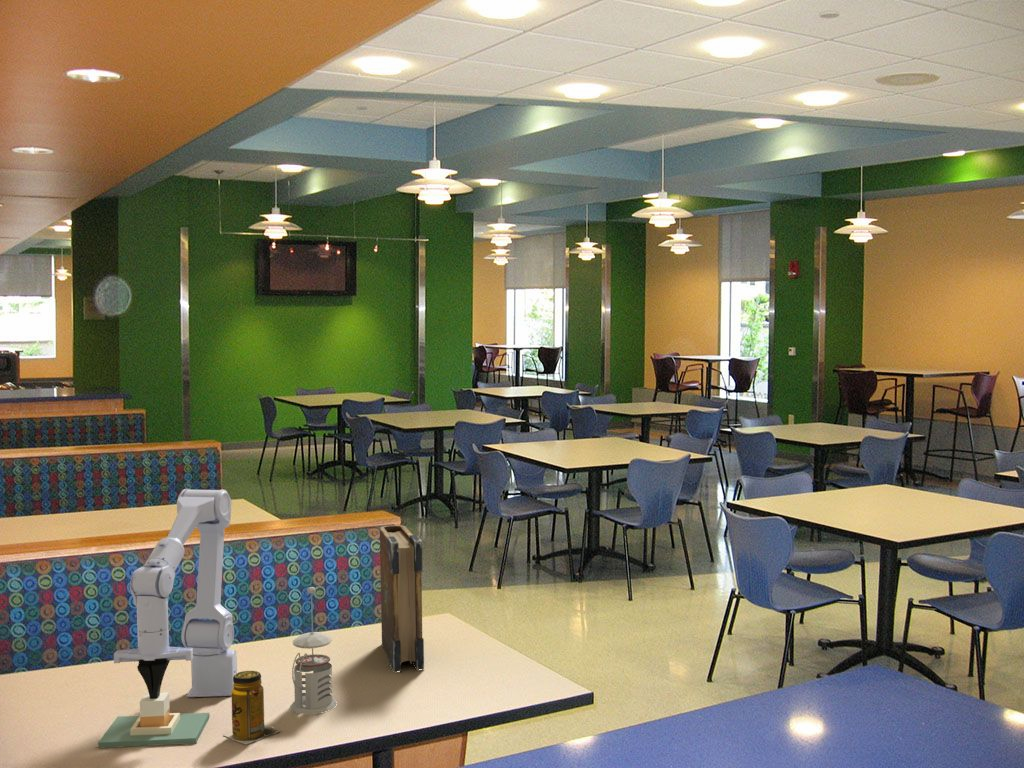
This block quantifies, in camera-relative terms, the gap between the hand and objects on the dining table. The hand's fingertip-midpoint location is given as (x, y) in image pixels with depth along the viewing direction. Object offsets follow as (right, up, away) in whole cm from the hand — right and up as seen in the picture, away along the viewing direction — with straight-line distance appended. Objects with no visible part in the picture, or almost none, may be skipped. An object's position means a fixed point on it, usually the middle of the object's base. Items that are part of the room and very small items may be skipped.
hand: (154, 697), depth 200 cm
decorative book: (+43, -4, +46) cm, 63 cm away
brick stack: (0, -6, 0) cm, 6 cm away
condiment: (+19, -7, -1) cm, 21 cm away
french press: (+28, -6, +13) cm, 31 cm away
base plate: (0, -7, 0) cm, 7 cm away
